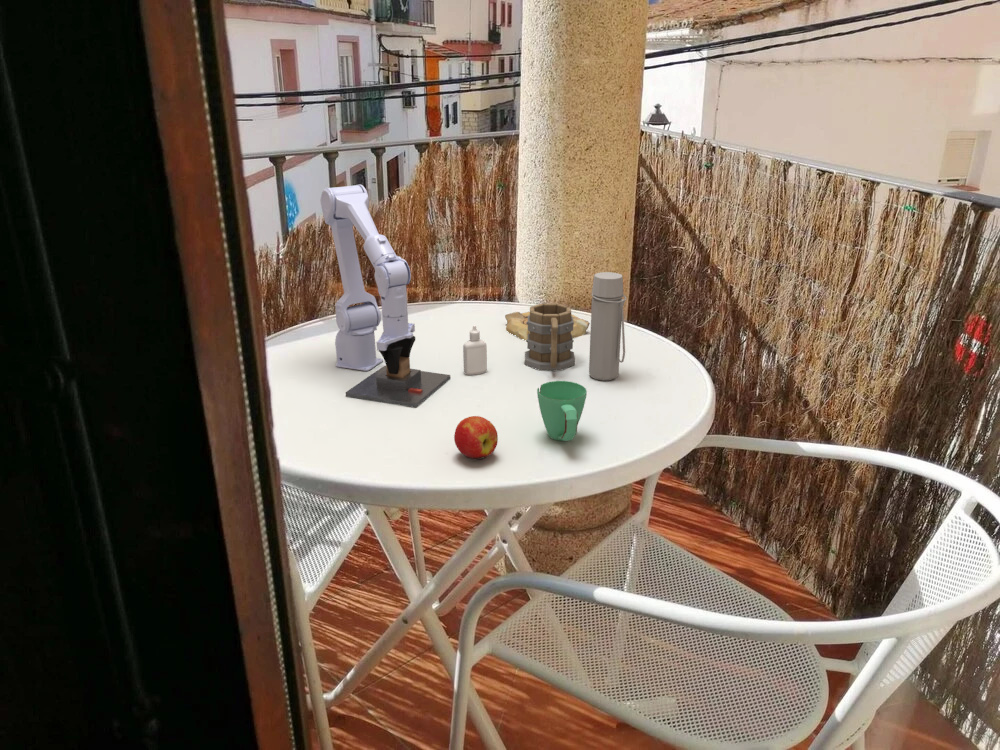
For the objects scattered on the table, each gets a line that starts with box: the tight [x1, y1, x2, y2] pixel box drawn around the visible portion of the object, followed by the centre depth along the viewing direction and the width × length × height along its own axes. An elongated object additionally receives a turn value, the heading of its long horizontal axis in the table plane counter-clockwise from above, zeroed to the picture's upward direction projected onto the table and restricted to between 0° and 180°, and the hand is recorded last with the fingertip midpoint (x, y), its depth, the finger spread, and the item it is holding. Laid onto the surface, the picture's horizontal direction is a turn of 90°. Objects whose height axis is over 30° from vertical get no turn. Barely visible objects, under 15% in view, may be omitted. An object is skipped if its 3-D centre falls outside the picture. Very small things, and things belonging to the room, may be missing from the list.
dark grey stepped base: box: [345, 365, 451, 409], centre depth 178 cm, size 18×18×4 cm
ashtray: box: [504, 311, 591, 341], centre depth 217 cm, size 24×24×5 cm
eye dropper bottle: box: [462, 325, 488, 376], centre depth 185 cm, size 4×6×12 cm
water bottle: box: [588, 271, 627, 382], centre depth 179 cm, size 9×8×25 cm
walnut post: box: [385, 357, 411, 378], centre depth 177 cm, size 4×4×6 cm
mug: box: [536, 380, 588, 442], centre depth 151 cm, size 15×10×10 cm
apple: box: [453, 415, 499, 460], centre depth 145 cm, size 8×8×8 cm
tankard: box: [524, 302, 576, 371], centre depth 188 cm, size 20×13×15 cm, turn 178°
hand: (398, 370), depth 177 cm, fingers closed on walnut post, 4 cm apart
